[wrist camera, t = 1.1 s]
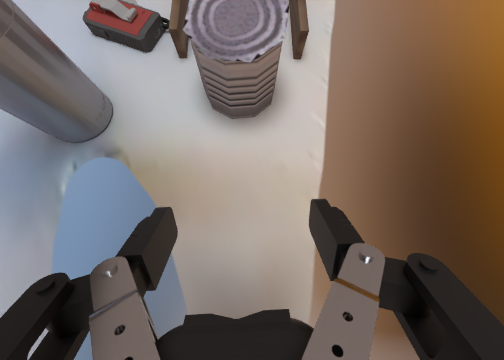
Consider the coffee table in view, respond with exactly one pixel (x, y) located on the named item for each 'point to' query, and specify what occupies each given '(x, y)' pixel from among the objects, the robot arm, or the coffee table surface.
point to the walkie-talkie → (125, 23)
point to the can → (237, 51)
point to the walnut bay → (296, 15)
